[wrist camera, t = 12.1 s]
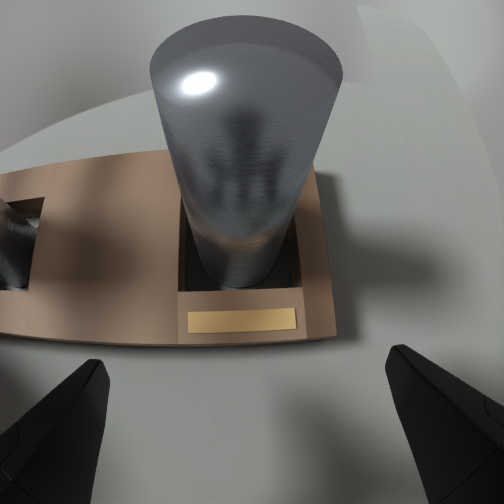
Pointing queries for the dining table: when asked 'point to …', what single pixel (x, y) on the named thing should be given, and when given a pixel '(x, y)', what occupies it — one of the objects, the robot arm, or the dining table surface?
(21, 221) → the cylinder
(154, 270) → the wooden slotted holder
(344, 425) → the dining table surface
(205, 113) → the cylinder
